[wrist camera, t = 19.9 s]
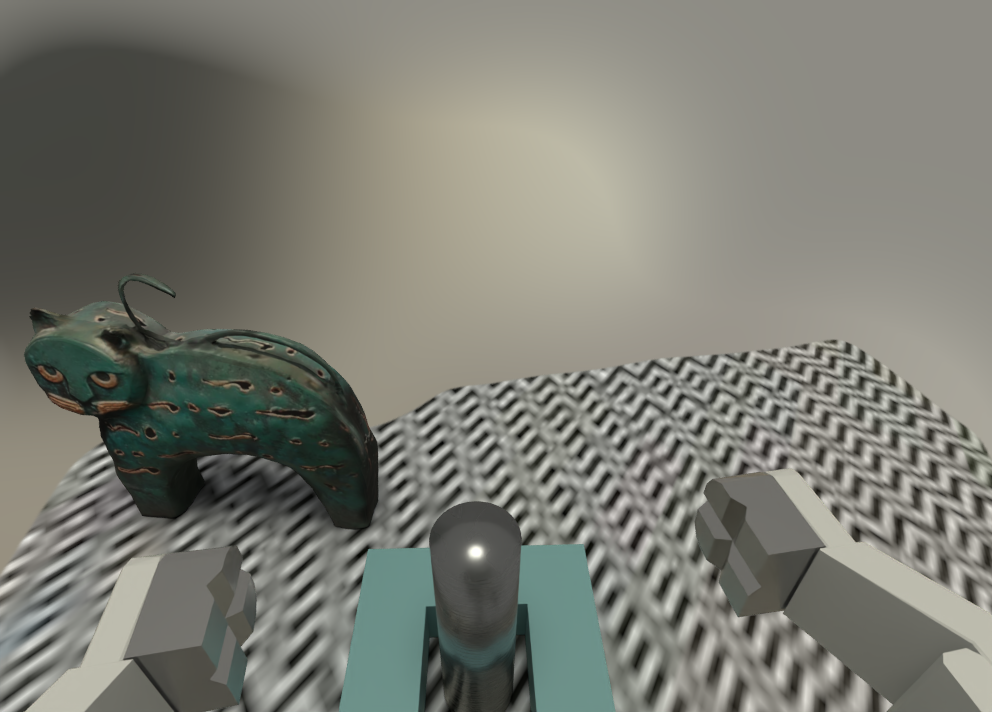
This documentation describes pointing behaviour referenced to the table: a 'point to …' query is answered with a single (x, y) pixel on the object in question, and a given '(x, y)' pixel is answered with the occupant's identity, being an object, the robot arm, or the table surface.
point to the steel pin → (476, 604)
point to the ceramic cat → (205, 404)
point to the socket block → (412, 621)
